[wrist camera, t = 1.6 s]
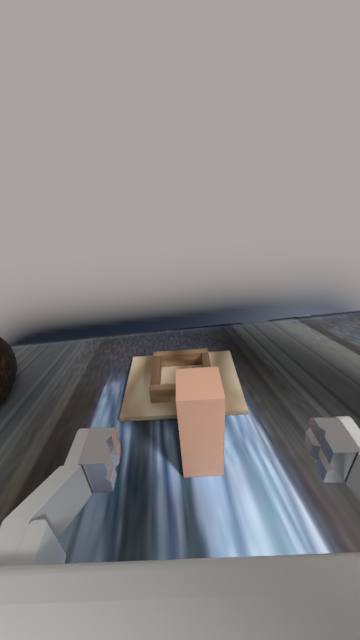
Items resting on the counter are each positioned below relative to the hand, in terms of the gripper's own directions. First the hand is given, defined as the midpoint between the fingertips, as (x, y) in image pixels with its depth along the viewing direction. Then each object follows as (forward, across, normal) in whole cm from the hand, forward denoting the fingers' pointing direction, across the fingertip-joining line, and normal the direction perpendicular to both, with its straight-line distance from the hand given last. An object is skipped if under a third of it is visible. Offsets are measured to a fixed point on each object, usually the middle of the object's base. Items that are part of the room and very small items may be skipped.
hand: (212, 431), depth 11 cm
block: (+12, 0, +20) cm, 24 cm away
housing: (+25, +2, +20) cm, 32 cm away
